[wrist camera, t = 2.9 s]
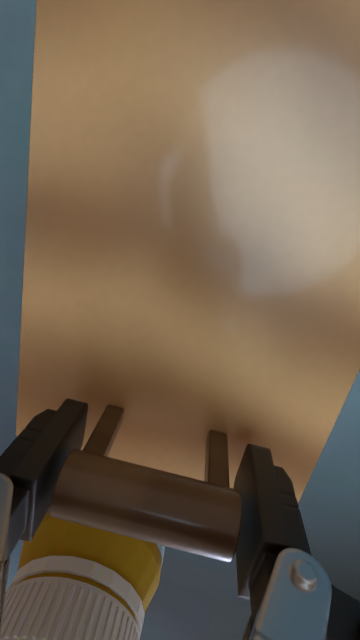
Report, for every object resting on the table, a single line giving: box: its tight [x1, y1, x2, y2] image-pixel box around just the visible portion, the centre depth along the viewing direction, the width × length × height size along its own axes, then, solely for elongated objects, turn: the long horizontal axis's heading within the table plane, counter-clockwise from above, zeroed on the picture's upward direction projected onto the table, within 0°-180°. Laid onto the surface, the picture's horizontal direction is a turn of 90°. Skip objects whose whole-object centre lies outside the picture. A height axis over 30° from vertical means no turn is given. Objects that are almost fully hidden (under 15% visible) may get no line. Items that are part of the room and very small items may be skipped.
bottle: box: [0, 509, 165, 640], centre depth 19 cm, size 7×7×15 cm
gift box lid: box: [16, 0, 360, 562], centre depth 9 cm, size 17×12×5 cm
